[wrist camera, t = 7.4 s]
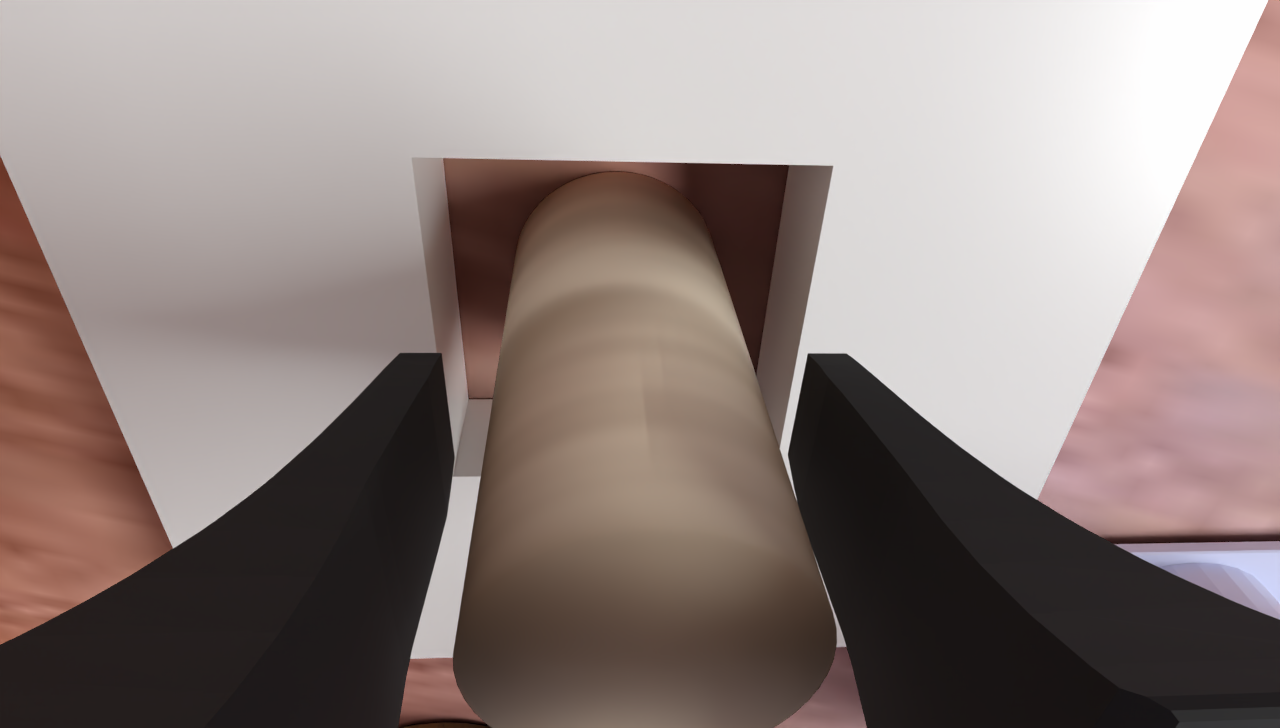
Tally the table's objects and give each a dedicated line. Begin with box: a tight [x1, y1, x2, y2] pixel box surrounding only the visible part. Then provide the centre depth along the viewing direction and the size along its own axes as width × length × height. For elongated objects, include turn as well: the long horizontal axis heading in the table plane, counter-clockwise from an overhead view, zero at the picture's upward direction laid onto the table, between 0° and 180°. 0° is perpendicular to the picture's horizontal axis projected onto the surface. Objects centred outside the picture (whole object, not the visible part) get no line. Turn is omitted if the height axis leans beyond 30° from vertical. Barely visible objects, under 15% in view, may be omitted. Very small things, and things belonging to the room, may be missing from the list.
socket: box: [0, 0, 1268, 659], centre depth 14 cm, size 18×18×2 cm
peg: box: [453, 172, 837, 728], centre depth 12 cm, size 4×4×9 cm
